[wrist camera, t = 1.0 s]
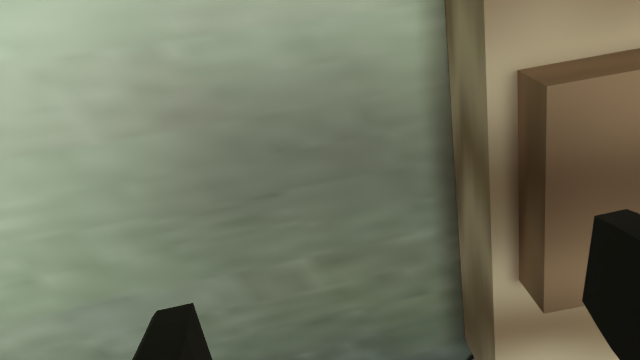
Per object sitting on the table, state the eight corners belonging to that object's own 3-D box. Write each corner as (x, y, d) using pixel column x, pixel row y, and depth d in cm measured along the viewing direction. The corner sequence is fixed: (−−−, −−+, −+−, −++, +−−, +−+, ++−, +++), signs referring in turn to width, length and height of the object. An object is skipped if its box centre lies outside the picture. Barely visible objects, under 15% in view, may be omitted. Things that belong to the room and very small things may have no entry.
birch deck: (706, 293, 27) (775, 349, 24) (465, 339, 27) (496, 403, 23) (785, -189, 19) (909, -216, 15) (437, -129, 19) (479, -143, 15)
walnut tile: (675, 250, 21) (714, 281, 19) (519, 280, 21) (543, 313, 19) (703, 36, 18) (753, 49, 16) (517, 69, 18) (546, 86, 16)
